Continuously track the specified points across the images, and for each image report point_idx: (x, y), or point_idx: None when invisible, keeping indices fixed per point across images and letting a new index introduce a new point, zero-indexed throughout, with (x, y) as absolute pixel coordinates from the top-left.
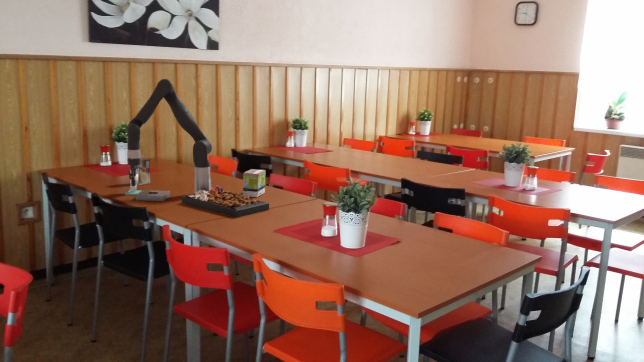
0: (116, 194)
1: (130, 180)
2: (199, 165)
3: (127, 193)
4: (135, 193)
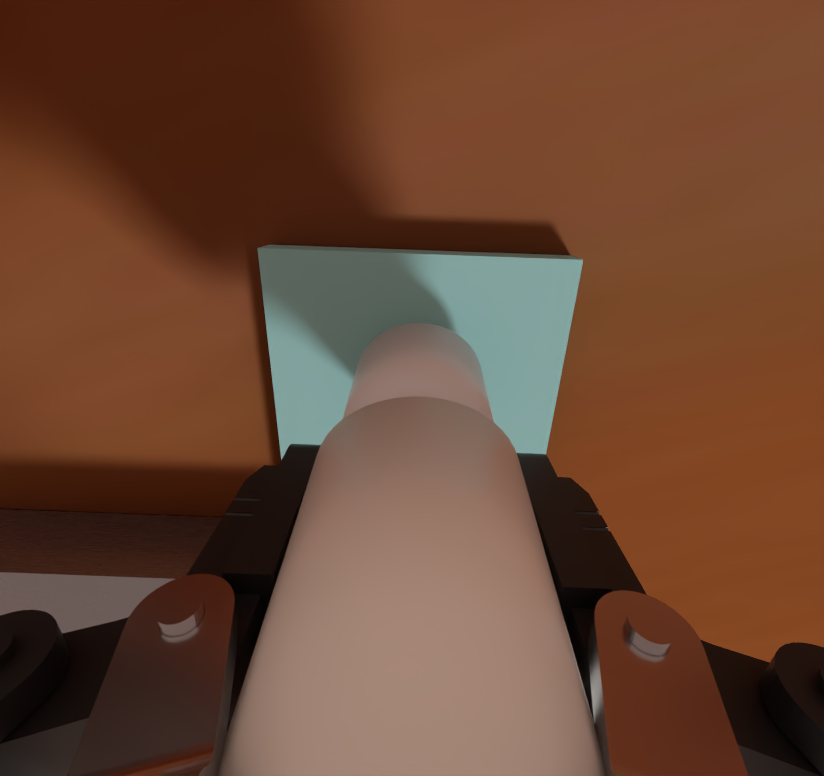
0: (265, 24)
1: (357, 478)
2: None
3: (265, 302)
4: (289, 441)
